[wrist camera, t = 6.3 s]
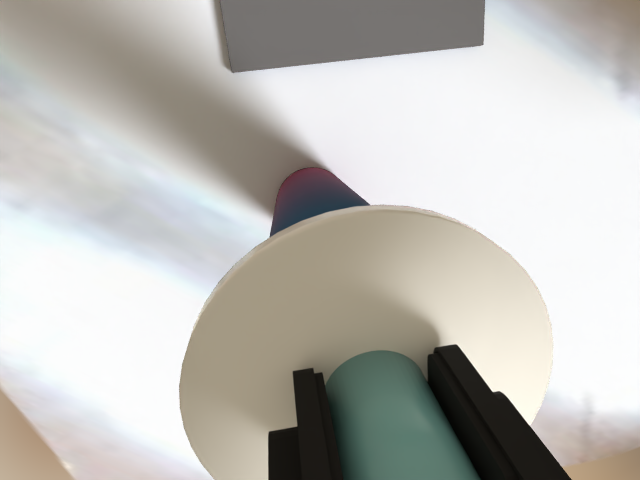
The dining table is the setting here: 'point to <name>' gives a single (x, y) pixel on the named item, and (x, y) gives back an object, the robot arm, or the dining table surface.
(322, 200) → the cup
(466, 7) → the mat
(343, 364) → the lid
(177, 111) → the dining table surface
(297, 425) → the robot arm
